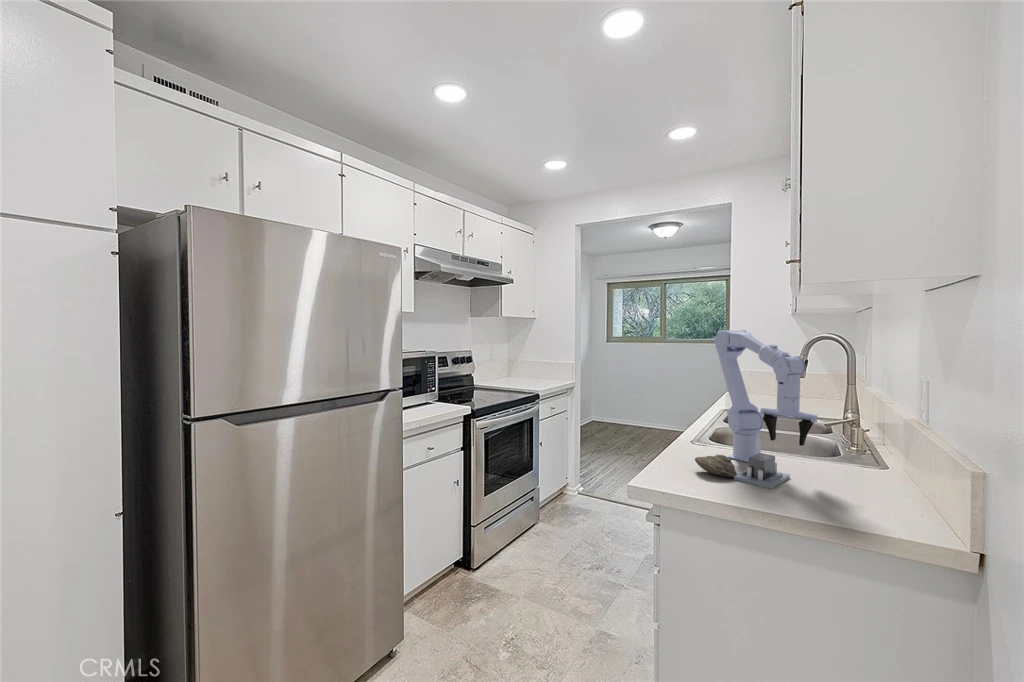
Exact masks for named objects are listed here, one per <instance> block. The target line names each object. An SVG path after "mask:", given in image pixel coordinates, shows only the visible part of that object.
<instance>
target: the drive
mask: <svg viewBox="0 0 1024 682" xmlns="http://www.w3.org/2000/svg"><path fill="white" fill-rule="evenodd" d="M775 462H776V456H775V455H771V454H768V453H767V454H766V453H763V452H761V453H758V454H756V455H754V456H752V457H750V458H749V462H748V467H751V468H752V476H751V477H752V478H756V479H758V470H763V480H766V479H768V478H769V477H771V476H773V475H775Z"/></svg>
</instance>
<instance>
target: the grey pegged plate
mask: <svg viewBox="0 0 1024 682" xmlns="http://www.w3.org/2000/svg"><path fill="white" fill-rule="evenodd" d="M790 475H791V474H790V473H789V474H788V473H785V472H779V471H778V462H776V461H775V475H773V476H771V477H769V478H768V479H766V480H763V470H758V479H756V478H752V477H751V476H752V468H751V467H749V466H747V467H746V469H745V470H743V471H741V472H739V473H737V475H735V476H734V477H733V480H735V481H738V482H742V483H745V484H750V485H754V486H758V487H761V488H766V489H769V490H773V489H775V488H776V487H778V486H779V485H781V484H782V483H785V482H786V481H787V480H788V479H790V478H791V477H790Z"/></svg>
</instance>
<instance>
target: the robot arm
mask: <svg viewBox="0 0 1024 682" xmlns="http://www.w3.org/2000/svg"><path fill="white" fill-rule="evenodd" d="M714 345H715V348H716V352H717V355H718V358H719V359H718V360H719V363H720V367H721V369H722V373H723V377H724V379H725V380H724V381H725V385H726V387H727V391H728V395H729V398H730V402H731V404H732V405H731V406H730V407H729V409H728V410H726V413H727V424H728V426H729V428H730V430H731V432H732V435H733V437H732V440H733V441H732V454H731V455H728V456H727V457H728V458H729V459H731V460H737V461H741V462H746V463H749V458H750V457H752V456H754V455H756V454H758V453H762V452H761V449H762V448H761V447H762V445H761V444H762V440H761V438H762V437H761V436H760V431H761V430H762V429H763V428H764V424H765V426H766V428H767V431H768V434H769V438H770V441H775V440H777V439H776V438H777V433H776V432H777V421H778V418H781V419H782V418H784V419H791V420H798V421H799V422H798V429H799V441H798V444H799V446H801V447H803V446H804V445H805V444H806V439H807V436H808V434H809V431H811V428H812V426H813V425H814V423H817V422H818V414H812V413H808V412H802V411H800V406H801V405H800V402H801V401H800V400H801V398H800V397H801V376H802V375H803V374H804V373H805V371H806V368H807V367H806V362H805V361H804V359H802V358H801V357H800V356H798V355H795V356H791V355H790V354H789V353H788V352H787V351H783V350H781V349H779V348H778V347H779V346H777V345H776V344H764V343H763V342H761V341H760V340H759V339H757V338H755V336H753V335H752V333H751V332H749V331H747V330H745V329H741V330H738V329H737V330H733V329H732V330H731V329H730V330H729V329H728V330H727V329H726V330H725V329H720V330H718V332H717V333H716V335H715V338H714ZM746 349H748V350H750V351H751V352H753V353H755V354H757V355H758V358H759V360H760V361H761V362H763V363H765V364H766V365H767V366H769V367H771V368H772V370H773V372H774V374H775V380H776V382H777V385H776V386H777V387H776V388H777V392H776V394H777V395H776V408H766V407H762V408H758V406H756V405H755V404H753V403H751V401H750V398H749V395H748V393H747V389H746V386H745V382H744V379H743V375H742V373H741V368H740V365H739V362H738V357H739V356H741V355H742V354H743V352H745V350H746ZM759 409H760V411H759Z"/></svg>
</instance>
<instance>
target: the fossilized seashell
mask: <svg viewBox="0 0 1024 682" xmlns="http://www.w3.org/2000/svg"><path fill="white" fill-rule="evenodd" d="M694 461H695V463H696V464H697V465H698V466H699V467H700V468H701V469H702V470H703V471H706V472H707V473H708V474H710V475H712V474H713V475H716V476H720V477H725V478H734V476H735V475H737V474H738V473H737V471H736V468H735V464H733V462H732V459H731V458H728V456H727V455H724V454H716V455H707V456H697V457H694Z"/></svg>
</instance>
